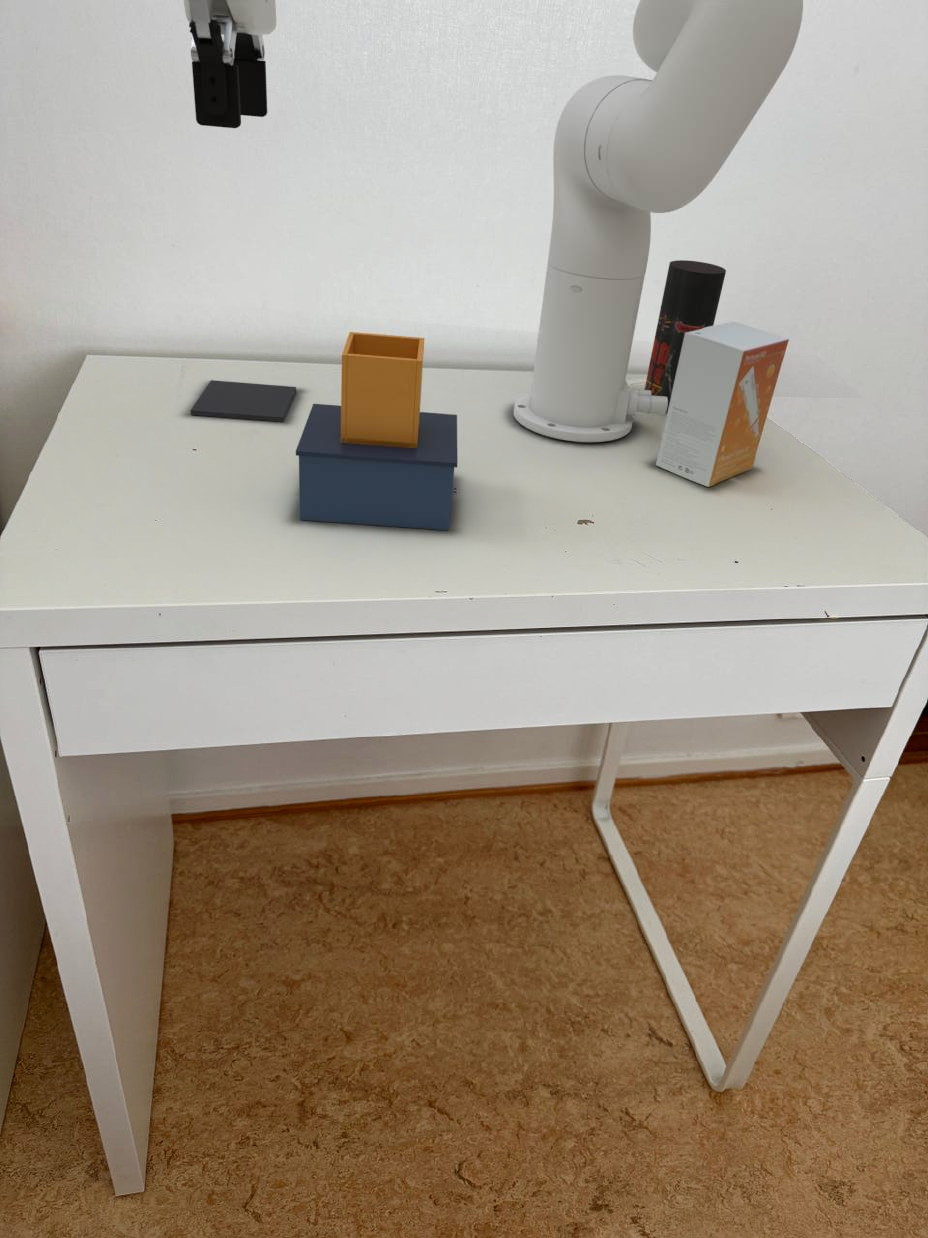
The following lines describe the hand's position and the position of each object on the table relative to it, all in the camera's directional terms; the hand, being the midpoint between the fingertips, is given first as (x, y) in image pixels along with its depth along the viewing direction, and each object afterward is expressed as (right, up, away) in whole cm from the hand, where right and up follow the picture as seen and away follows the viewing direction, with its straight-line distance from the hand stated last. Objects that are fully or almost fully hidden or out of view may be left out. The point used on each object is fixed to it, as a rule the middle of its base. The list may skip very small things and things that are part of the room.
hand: (234, 120), depth 72 cm
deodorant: (+41, -15, +33) cm, 55 cm away
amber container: (+11, -24, +3) cm, 27 cm away
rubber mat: (-4, -17, +22) cm, 28 cm away
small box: (+42, -25, +18) cm, 51 cm away
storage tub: (+11, -29, +6) cm, 31 cm away
